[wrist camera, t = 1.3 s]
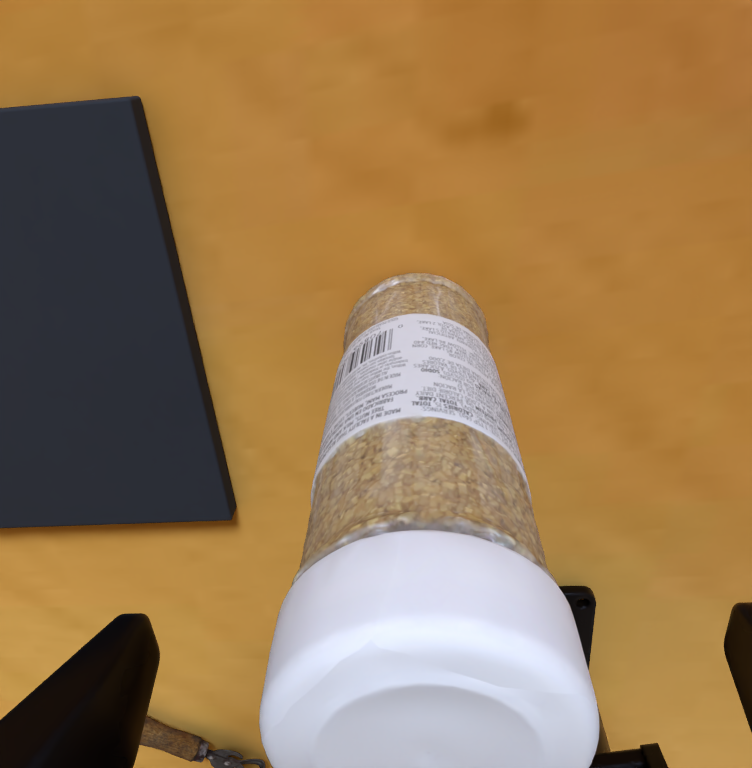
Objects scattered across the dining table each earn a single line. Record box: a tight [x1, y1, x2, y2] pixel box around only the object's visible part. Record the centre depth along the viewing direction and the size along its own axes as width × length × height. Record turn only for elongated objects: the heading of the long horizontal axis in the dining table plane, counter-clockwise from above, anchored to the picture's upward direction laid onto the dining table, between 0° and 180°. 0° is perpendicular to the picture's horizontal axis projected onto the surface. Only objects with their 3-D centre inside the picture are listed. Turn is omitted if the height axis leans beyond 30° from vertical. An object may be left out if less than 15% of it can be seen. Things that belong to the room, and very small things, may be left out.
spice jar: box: [259, 273, 599, 768], centre depth 14 cm, size 5×5×14 cm
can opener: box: [139, 717, 265, 768], centre depth 30 cm, size 9×2×1 cm, turn 54°
